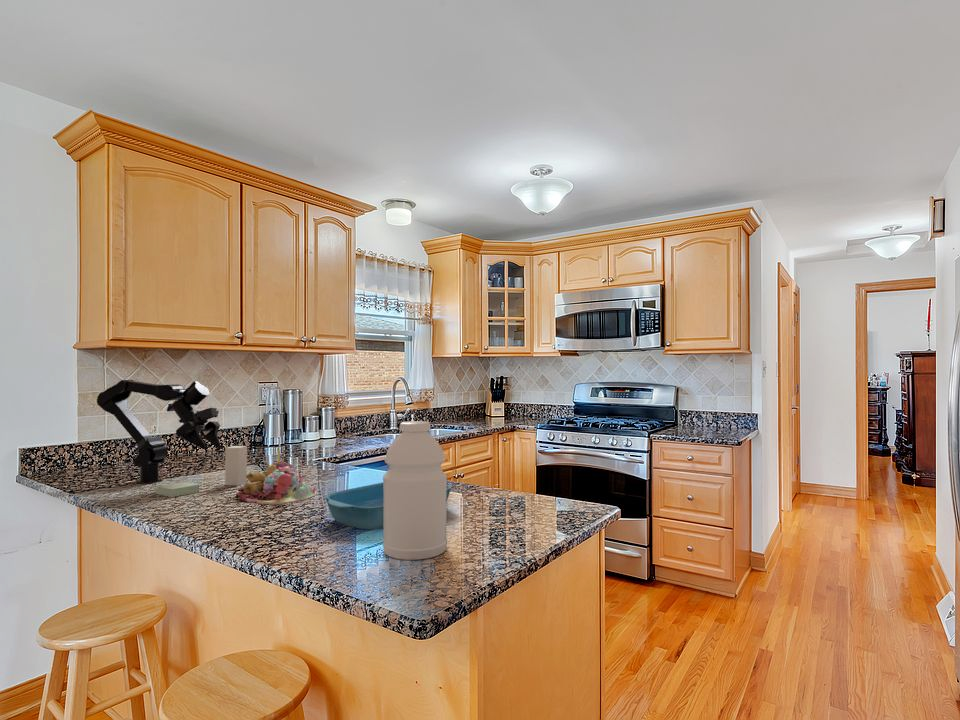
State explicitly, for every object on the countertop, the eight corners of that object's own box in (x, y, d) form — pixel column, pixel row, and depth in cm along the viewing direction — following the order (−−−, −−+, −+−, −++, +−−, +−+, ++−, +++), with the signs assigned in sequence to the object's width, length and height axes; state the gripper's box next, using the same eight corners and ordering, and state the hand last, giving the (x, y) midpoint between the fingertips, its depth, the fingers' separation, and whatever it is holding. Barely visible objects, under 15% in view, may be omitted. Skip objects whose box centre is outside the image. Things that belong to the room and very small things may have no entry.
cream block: (225, 485, 189) (225, 447, 189) (233, 482, 194) (233, 445, 194) (238, 485, 188) (239, 447, 189) (246, 482, 193) (246, 446, 194)
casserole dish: (361, 539, 127) (361, 509, 127) (308, 522, 142) (308, 495, 142) (466, 509, 155) (465, 484, 155) (413, 498, 170) (413, 475, 170)
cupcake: (287, 484, 190) (288, 449, 191) (263, 484, 190) (264, 449, 191) (296, 479, 199) (296, 446, 199) (273, 479, 199) (273, 446, 199)
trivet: (156, 493, 175) (156, 486, 175) (184, 488, 183) (184, 481, 183) (170, 497, 170) (171, 489, 170) (199, 492, 178) (199, 484, 178)
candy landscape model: (219, 501, 166) (219, 471, 166) (270, 486, 188) (270, 459, 189) (288, 507, 159) (288, 475, 159) (333, 490, 181) (333, 463, 181)
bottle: (447, 540, 126) (447, 419, 127) (446, 560, 112) (446, 425, 113) (387, 540, 125) (387, 419, 126) (377, 561, 112) (378, 425, 112)
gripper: (189, 398, 184) (216, 434, 183) (218, 399, 203) (243, 432, 201) (163, 419, 184) (190, 455, 182) (195, 418, 203) (219, 451, 201)
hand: (212, 447), depth 192 cm, fingers open, 9 cm apart
